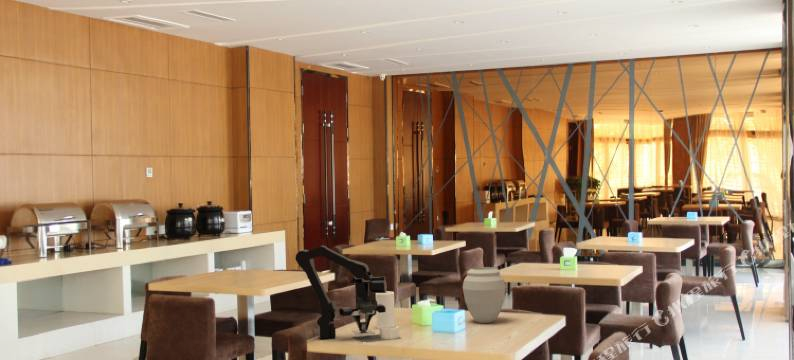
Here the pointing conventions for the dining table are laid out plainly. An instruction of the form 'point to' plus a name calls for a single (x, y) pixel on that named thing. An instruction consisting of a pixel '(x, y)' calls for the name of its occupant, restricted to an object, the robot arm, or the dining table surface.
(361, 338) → the placemat
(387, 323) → the cup
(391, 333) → the bowl
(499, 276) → the vase
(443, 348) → the dining table surface
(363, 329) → the lid
